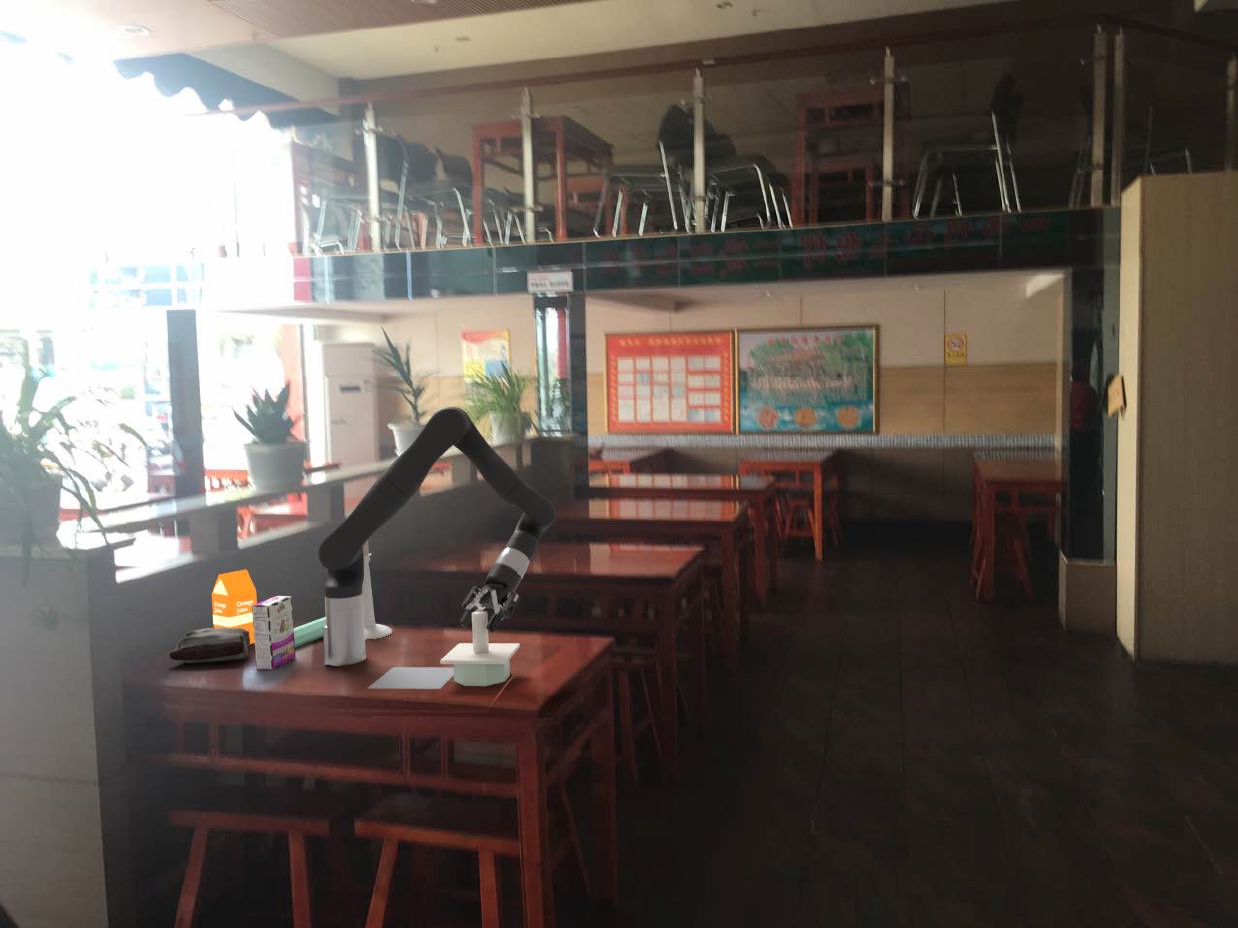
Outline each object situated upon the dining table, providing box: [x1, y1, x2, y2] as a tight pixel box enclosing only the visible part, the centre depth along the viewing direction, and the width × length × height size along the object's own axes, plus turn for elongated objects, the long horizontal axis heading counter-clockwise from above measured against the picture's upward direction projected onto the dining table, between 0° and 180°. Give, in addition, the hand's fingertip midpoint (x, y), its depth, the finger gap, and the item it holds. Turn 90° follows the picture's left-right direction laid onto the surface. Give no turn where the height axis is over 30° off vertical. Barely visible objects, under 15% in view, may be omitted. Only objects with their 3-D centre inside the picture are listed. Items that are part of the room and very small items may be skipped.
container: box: [294, 616, 326, 648], centre depth 270 cm, size 6×6×25 cm
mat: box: [367, 666, 454, 690], centre depth 230 cm, size 17×17×1 cm
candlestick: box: [362, 539, 393, 641], centre depth 275 cm, size 13×13×30 cm
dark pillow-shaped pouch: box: [169, 627, 251, 664], centre depth 252 cm, size 18×11×8 cm, turn 95°
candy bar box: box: [252, 595, 297, 671], centre depth 247 cm, size 11×5×16 cm, turn 168°
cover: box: [439, 610, 521, 665], centre depth 228 cm, size 15×15×10 cm
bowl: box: [452, 659, 511, 687], centre depth 228 cm, size 12×12×6 cm
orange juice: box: [211, 569, 258, 645], centre depth 270 cm, size 8×9×20 cm
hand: (475, 628), depth 226 cm, fingers open, 8 cm apart
